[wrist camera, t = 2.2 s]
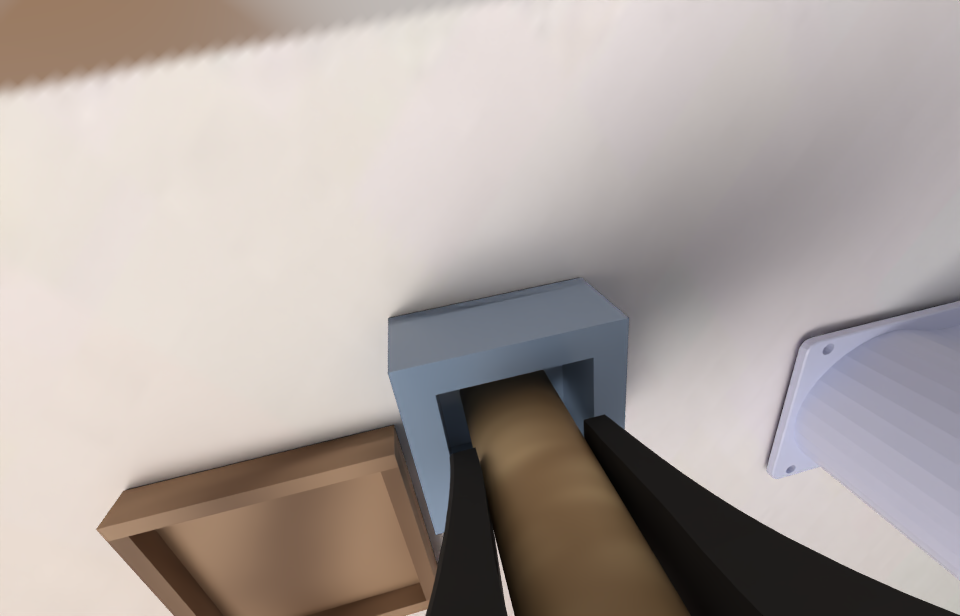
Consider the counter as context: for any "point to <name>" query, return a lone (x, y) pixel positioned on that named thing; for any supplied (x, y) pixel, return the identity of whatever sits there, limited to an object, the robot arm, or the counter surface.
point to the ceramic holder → (502, 366)
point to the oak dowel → (558, 510)
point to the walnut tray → (283, 534)
